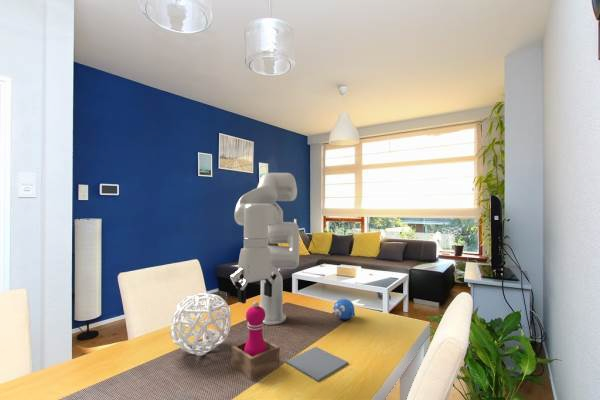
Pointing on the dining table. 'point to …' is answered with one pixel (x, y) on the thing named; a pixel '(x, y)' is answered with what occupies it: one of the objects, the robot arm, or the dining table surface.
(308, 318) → the dining table surface
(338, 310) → the blue mole toy
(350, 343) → the dining table surface
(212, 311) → the decorative ball
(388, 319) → the dining table surface
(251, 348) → the pink bowling pin
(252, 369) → the holder
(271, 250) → the robot arm
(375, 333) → the dining table surface
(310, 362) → the mat
